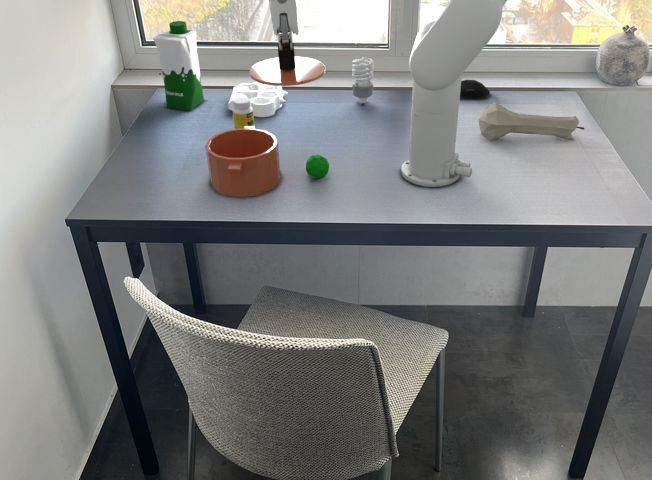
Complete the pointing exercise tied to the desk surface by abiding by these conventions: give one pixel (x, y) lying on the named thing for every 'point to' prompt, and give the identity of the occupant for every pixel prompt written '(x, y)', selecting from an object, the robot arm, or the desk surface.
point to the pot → (243, 162)
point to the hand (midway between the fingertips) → (287, 65)
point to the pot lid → (287, 72)
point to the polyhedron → (317, 166)
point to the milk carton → (180, 66)
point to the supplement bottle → (242, 113)
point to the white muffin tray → (259, 97)
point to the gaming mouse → (473, 90)
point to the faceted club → (523, 123)
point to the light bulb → (363, 86)
